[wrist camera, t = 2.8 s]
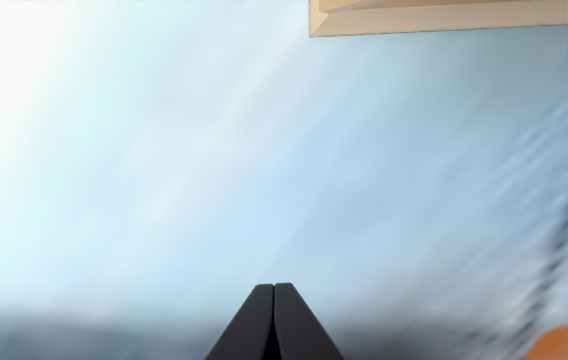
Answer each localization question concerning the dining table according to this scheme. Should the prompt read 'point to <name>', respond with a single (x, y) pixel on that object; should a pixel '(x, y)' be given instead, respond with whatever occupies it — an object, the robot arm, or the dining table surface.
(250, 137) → the dining table surface
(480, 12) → the carton
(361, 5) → the carton lid
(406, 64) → the dining table surface
